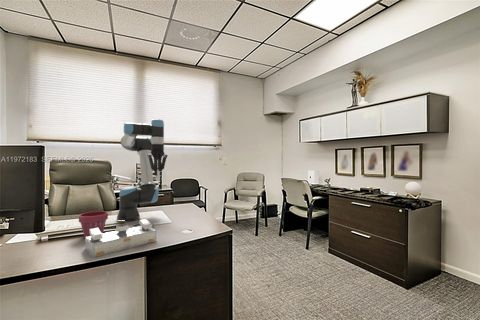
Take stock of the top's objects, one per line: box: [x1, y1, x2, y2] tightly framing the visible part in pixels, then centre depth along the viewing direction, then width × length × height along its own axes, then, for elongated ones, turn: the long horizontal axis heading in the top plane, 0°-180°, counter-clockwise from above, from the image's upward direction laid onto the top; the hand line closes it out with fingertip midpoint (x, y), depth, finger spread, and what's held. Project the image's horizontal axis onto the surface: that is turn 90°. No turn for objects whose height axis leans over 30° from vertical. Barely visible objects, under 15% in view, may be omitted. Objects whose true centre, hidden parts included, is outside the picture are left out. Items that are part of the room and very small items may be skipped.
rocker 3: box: [138, 218, 152, 229], centre depth 129 cm, size 8×4×2 cm, turn 44°
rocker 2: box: [115, 224, 130, 232], centre depth 121 cm, size 8×4×2 cm, turn 44°
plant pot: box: [78, 210, 109, 238], centre depth 136 cm, size 14×14×13 cm
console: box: [84, 226, 157, 258], centre depth 121 cm, size 14×30×7 cm, turn 134°
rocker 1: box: [89, 228, 102, 240], centre depth 113 cm, size 8×4×2 cm, turn 44°
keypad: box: [128, 222, 155, 229], centre depth 147 cm, size 10×4×15 cm
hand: (157, 180), depth 150 cm, fingers closed
